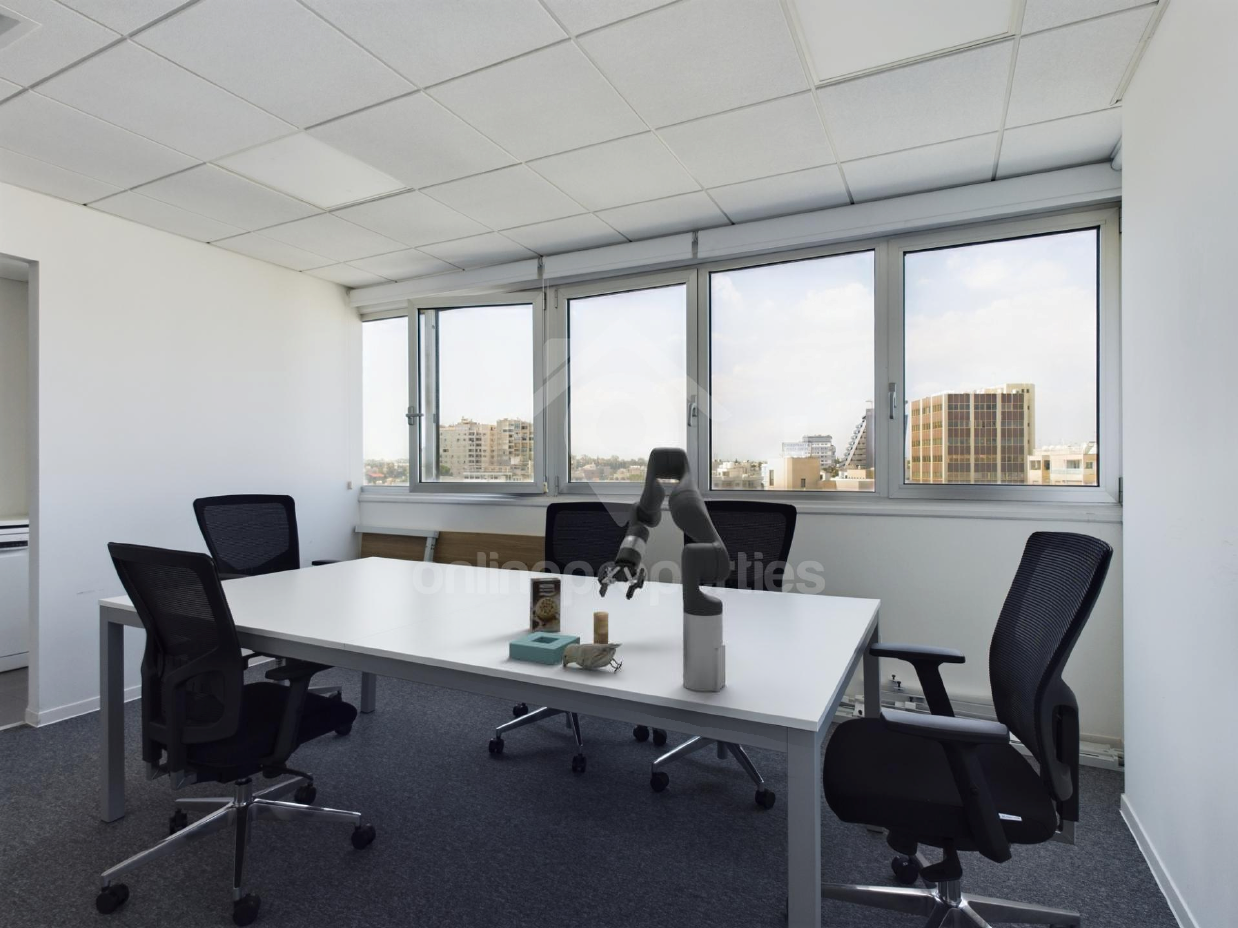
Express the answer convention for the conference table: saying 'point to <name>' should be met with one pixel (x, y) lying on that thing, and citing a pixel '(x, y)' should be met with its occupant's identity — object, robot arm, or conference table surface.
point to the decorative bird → (590, 655)
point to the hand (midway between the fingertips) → (614, 596)
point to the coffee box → (545, 604)
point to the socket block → (541, 647)
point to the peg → (601, 628)
